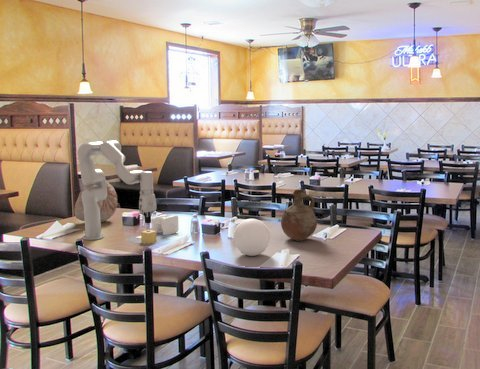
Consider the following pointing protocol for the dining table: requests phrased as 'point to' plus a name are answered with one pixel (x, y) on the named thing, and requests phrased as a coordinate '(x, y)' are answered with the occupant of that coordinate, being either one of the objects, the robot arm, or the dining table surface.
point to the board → (138, 240)
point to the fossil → (99, 204)
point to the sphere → (251, 237)
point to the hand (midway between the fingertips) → (148, 222)
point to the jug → (299, 217)
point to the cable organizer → (165, 224)
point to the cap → (148, 236)
